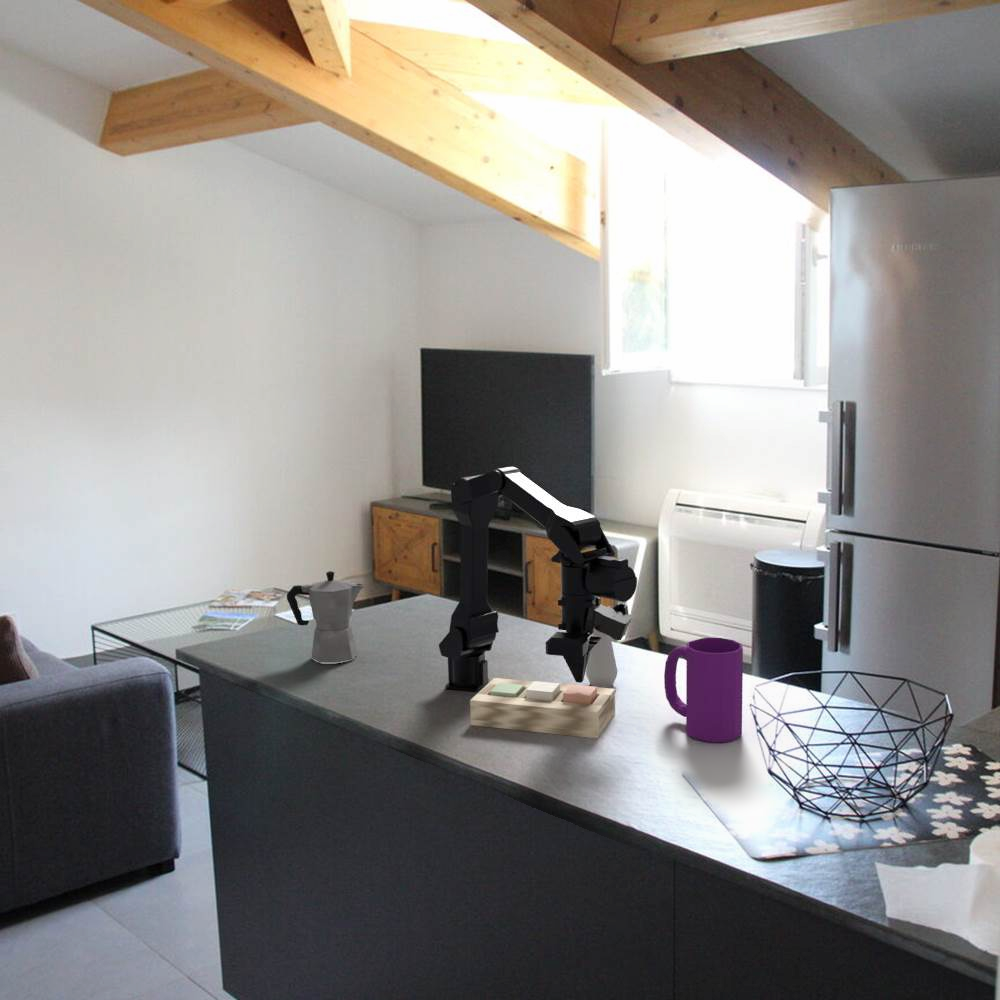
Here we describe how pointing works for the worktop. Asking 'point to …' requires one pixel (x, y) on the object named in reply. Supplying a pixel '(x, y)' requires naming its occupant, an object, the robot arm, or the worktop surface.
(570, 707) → the keypad
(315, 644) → the coffeepot
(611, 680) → the salt shaker
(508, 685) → the sage key
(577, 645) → the robot arm
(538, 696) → the middle key
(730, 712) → the mug
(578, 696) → the terracotta key
